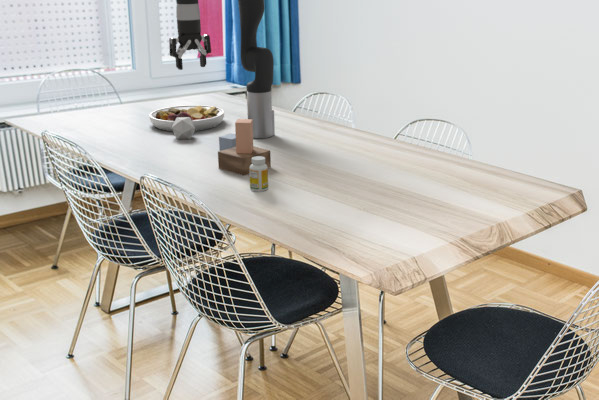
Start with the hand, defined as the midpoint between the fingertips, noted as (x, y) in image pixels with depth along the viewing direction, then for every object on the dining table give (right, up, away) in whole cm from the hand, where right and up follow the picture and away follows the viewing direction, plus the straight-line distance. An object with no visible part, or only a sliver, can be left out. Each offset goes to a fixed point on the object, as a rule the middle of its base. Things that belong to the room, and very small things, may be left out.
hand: (191, 68), depth 236 cm
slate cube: (+12, -27, +13) cm, 33 cm away
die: (-8, -21, +33) cm, 39 cm away
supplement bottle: (+24, -41, -25) cm, 54 cm away
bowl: (-10, -13, +54) cm, 56 cm away
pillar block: (+18, -28, -7) cm, 34 cm away
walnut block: (+18, -34, -5) cm, 38 cm away
